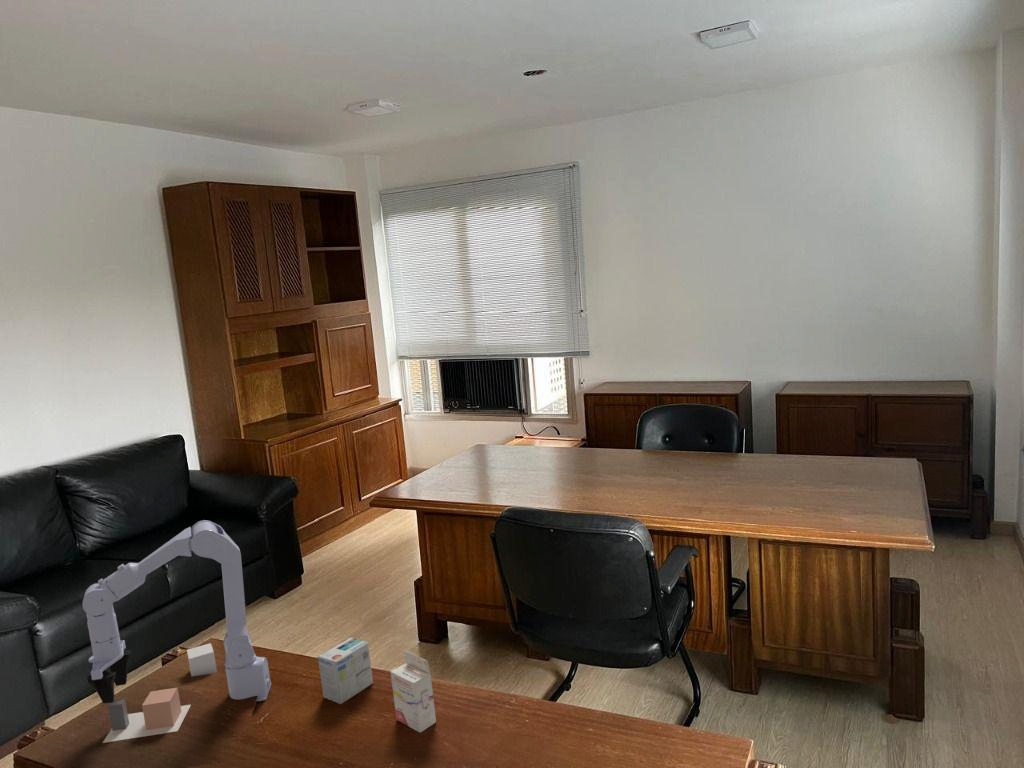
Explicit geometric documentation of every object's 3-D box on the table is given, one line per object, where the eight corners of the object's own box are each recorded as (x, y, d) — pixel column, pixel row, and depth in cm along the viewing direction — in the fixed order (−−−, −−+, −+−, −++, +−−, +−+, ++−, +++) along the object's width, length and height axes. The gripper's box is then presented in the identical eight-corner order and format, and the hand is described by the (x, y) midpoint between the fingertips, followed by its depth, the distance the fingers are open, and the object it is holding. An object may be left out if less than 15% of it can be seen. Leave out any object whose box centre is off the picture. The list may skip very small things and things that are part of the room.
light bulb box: (355, 676, 192) (350, 636, 191) (374, 683, 188) (369, 641, 187) (322, 698, 184) (316, 655, 182) (341, 705, 180) (335, 661, 178)
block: (181, 711, 182) (177, 687, 181) (173, 725, 176) (169, 701, 175) (154, 715, 181) (150, 691, 180) (146, 730, 175) (141, 705, 174)
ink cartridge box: (394, 720, 171) (387, 658, 169) (412, 710, 175) (404, 649, 173) (420, 733, 166) (412, 669, 163) (437, 722, 169) (430, 659, 167)
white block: (190, 671, 204) (186, 649, 203) (214, 664, 206) (210, 642, 205) (192, 680, 198) (188, 658, 197) (217, 673, 201) (213, 651, 200)
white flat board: (191, 708, 184) (187, 681, 183) (178, 735, 173) (173, 706, 172) (121, 719, 182) (116, 691, 181) (103, 746, 172) (97, 717, 171)
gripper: (99, 625, 181) (108, 679, 183) (72, 655, 167) (83, 713, 169) (130, 621, 182) (140, 675, 184) (106, 650, 167) (117, 708, 169)
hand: (115, 693), depth 176 cm, fingers open, 7 cm apart
